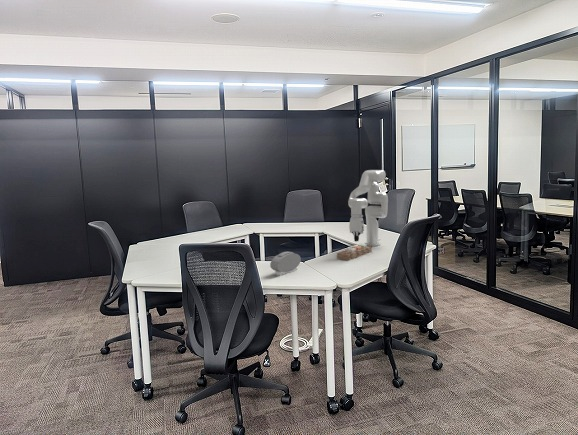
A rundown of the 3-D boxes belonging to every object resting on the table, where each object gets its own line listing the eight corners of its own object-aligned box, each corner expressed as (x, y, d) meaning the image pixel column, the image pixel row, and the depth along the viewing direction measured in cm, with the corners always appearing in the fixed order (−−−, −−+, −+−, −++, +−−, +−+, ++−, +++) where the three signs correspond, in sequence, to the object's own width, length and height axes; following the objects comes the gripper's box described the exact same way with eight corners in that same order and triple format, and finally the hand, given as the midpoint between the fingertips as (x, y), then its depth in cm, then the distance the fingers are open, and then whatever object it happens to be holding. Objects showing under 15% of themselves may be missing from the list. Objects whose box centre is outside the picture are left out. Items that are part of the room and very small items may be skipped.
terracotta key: (355, 250, 316) (355, 245, 315) (361, 250, 313) (361, 246, 312) (352, 251, 312) (352, 246, 311) (358, 252, 309) (358, 247, 308)
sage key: (361, 248, 322) (360, 243, 321) (366, 248, 319) (366, 244, 318) (357, 249, 318) (357, 245, 318) (363, 249, 315) (363, 245, 314)
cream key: (350, 252, 310) (349, 247, 309) (356, 252, 306) (355, 248, 306) (346, 253, 306) (346, 248, 305) (352, 254, 303) (352, 249, 302)
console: (359, 250, 326) (359, 244, 325) (371, 251, 319) (371, 245, 319) (337, 258, 301) (336, 252, 301) (349, 260, 295) (349, 254, 294)
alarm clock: (293, 267, 281) (293, 248, 279) (301, 268, 277) (300, 249, 275) (270, 275, 263) (269, 255, 262) (277, 276, 259) (277, 256, 258)
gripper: (368, 216, 307) (368, 241, 309) (350, 215, 316) (350, 239, 318) (362, 217, 301) (363, 242, 303) (344, 216, 310) (345, 240, 313)
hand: (356, 241), depth 311 cm, fingers closed
